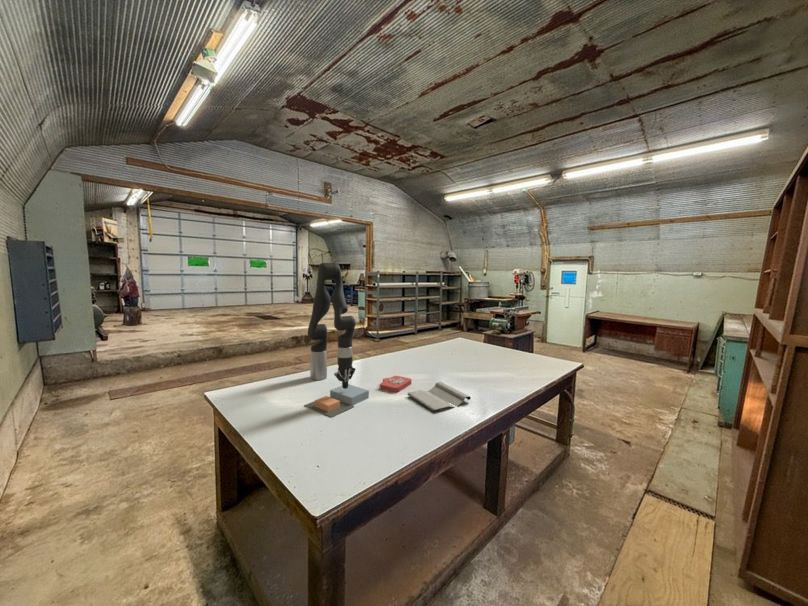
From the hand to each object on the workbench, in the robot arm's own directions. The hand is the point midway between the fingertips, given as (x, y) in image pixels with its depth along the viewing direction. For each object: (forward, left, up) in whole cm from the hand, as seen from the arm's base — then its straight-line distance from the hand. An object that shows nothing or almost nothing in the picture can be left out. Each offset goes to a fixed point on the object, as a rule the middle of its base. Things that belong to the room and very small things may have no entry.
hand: (345, 388), depth 161 cm
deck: (0, +3, -6) cm, 6 cm away
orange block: (0, -12, -2) cm, 12 cm away
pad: (0, -11, -6) cm, 12 cm away
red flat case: (+8, +31, -7) cm, 32 cm away
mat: (+38, +29, -7) cm, 48 cm away
